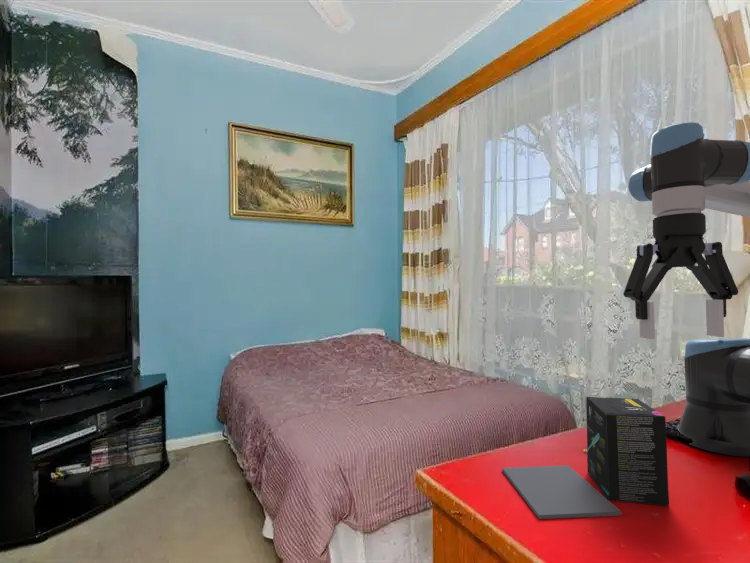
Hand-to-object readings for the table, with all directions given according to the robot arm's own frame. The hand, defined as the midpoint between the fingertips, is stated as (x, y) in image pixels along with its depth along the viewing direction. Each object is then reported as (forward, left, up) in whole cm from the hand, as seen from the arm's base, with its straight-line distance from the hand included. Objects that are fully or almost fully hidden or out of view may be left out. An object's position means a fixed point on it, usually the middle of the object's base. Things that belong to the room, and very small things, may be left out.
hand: (681, 337), depth 72 cm
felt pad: (+23, 0, -26) cm, 35 cm away
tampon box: (+11, 0, -26) cm, 29 cm away
